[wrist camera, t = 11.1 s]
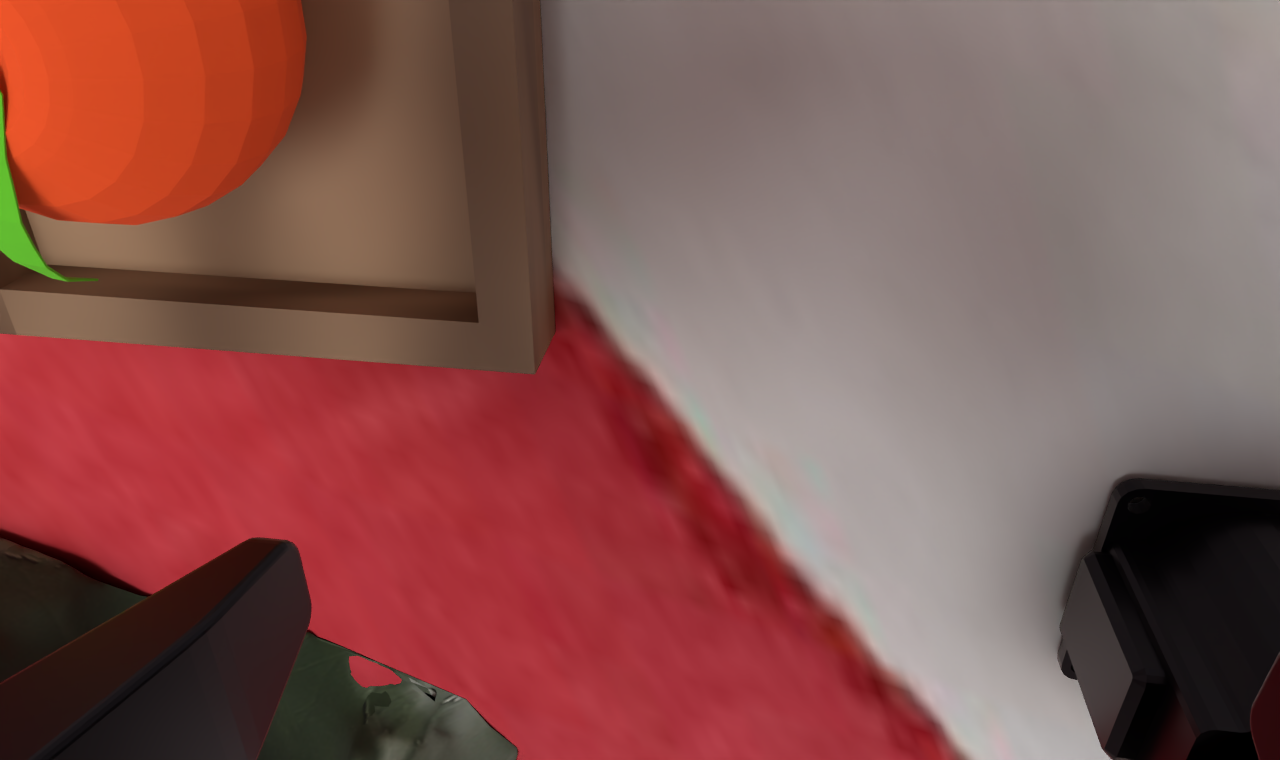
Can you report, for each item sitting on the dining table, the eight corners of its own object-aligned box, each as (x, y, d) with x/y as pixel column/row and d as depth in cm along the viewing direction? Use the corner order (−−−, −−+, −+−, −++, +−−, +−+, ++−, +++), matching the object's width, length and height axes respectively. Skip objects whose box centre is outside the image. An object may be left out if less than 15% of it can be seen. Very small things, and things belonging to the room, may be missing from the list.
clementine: (368, 231, 21) (196, 389, 15) (82, 175, 21) (-205, 307, 15) (365, -171, 17) (123, -184, 11) (7, -235, 17) (-428, -283, 11)
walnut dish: (521, -417, 15) (485, -453, 13) (555, 331, 22) (535, 374, 20) (-220, -397, 17) (-342, -426, 15) (33, 294, 24) (-28, 331, 22)
